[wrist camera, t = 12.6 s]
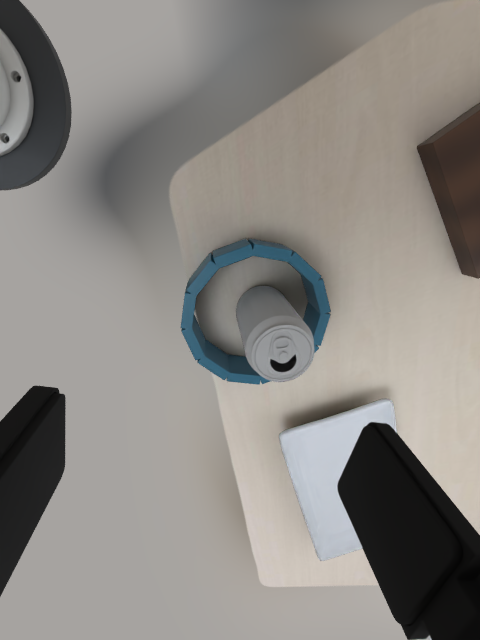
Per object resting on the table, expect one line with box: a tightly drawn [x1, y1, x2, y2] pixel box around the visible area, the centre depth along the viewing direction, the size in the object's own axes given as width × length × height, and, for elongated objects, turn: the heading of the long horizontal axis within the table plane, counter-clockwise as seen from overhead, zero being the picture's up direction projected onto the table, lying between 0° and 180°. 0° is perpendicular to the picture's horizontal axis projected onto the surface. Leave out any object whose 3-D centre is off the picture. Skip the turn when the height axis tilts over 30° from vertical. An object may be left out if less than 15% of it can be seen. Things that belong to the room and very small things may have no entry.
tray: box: [279, 398, 397, 561], centre depth 48 cm, size 17×32×4 cm, turn 17°
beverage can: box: [236, 286, 314, 382], centre depth 31 cm, size 6×6×12 cm
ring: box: [181, 238, 331, 384], centre depth 34 cm, size 17×17×4 cm
